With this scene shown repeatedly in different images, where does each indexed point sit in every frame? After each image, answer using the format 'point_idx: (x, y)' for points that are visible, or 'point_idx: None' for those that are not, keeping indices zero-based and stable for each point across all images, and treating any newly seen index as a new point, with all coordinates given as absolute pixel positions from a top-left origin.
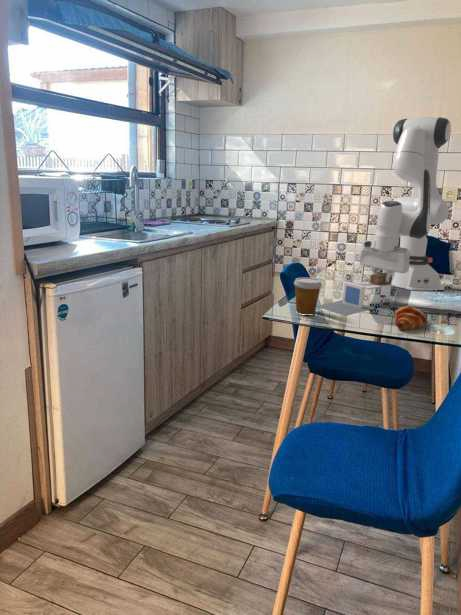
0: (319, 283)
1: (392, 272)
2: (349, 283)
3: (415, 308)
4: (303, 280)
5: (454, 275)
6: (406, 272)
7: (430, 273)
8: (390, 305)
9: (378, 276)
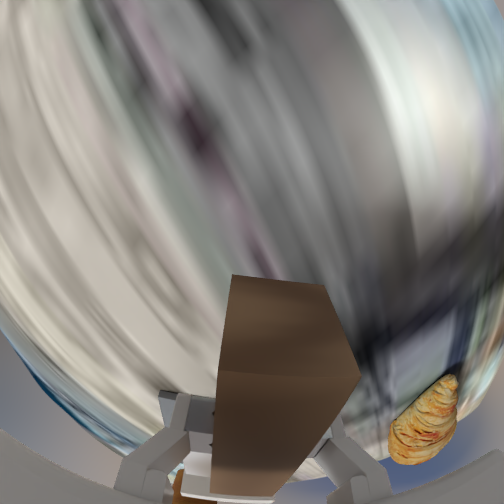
0: None
1: (382, 482)
2: (204, 498)
3: (439, 450)
4: None
5: None
6: (494, 451)
7: None
8: (342, 314)
9: (274, 491)
